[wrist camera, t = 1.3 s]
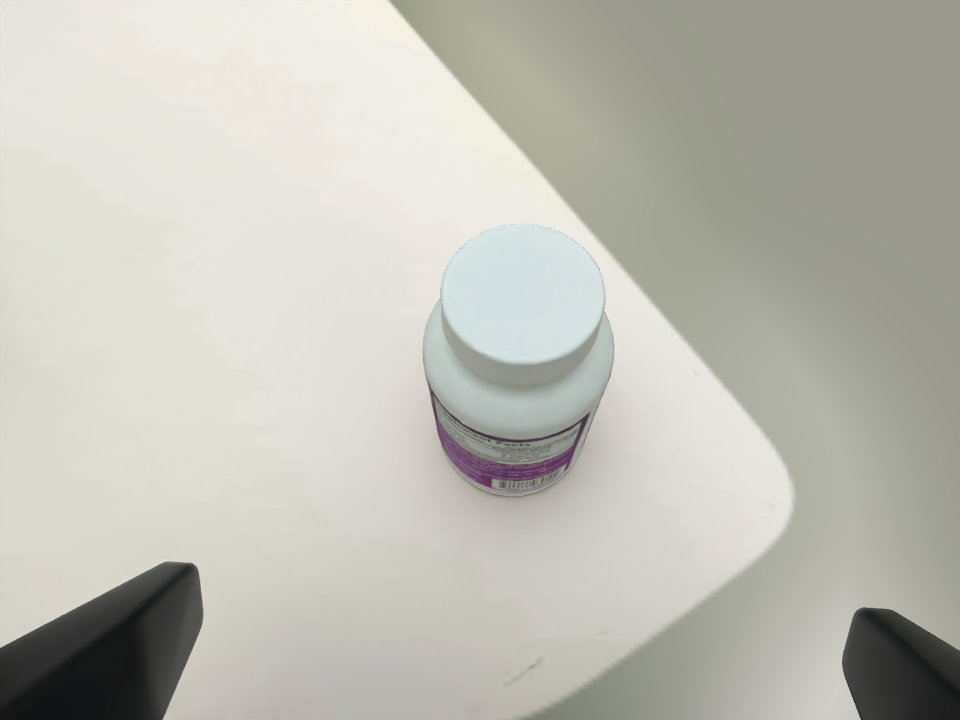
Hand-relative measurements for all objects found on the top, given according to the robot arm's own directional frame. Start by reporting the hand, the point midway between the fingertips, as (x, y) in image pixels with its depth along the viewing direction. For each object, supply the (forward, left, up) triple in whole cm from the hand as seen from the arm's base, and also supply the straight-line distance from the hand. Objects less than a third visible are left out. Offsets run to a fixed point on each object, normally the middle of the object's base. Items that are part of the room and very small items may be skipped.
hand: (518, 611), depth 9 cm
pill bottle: (+8, 0, -13) cm, 15 cm away
